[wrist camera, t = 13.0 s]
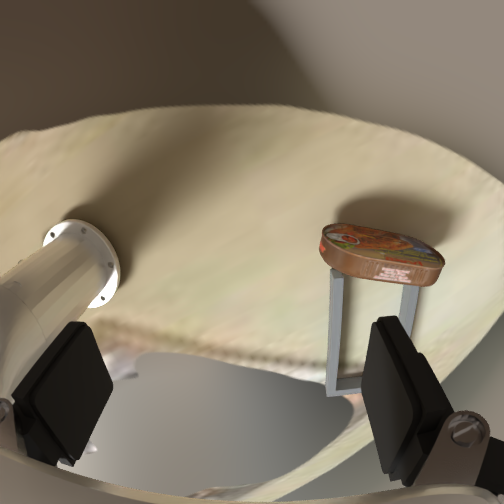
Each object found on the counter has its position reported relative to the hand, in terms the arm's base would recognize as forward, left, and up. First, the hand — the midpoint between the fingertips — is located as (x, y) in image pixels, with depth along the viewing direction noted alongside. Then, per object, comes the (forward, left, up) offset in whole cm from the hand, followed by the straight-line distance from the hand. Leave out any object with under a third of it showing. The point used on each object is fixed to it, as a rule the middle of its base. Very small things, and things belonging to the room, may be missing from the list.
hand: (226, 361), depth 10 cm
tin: (+13, -7, -28) cm, 32 cm away
